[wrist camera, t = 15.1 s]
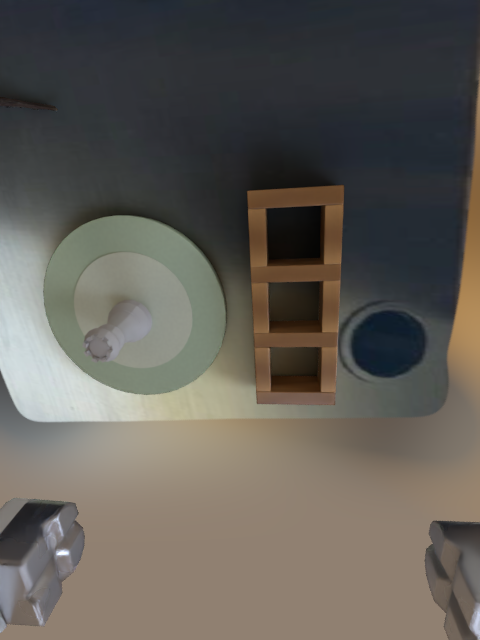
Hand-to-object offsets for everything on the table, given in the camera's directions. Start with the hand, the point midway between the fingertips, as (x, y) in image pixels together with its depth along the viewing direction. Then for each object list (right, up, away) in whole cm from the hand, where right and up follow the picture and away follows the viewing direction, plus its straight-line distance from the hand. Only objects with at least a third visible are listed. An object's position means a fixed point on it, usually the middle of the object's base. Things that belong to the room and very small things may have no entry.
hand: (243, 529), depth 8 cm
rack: (+5, +7, +28) cm, 29 cm away
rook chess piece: (-11, +5, +30) cm, 32 cm away
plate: (-11, +6, +30) cm, 33 cm away
